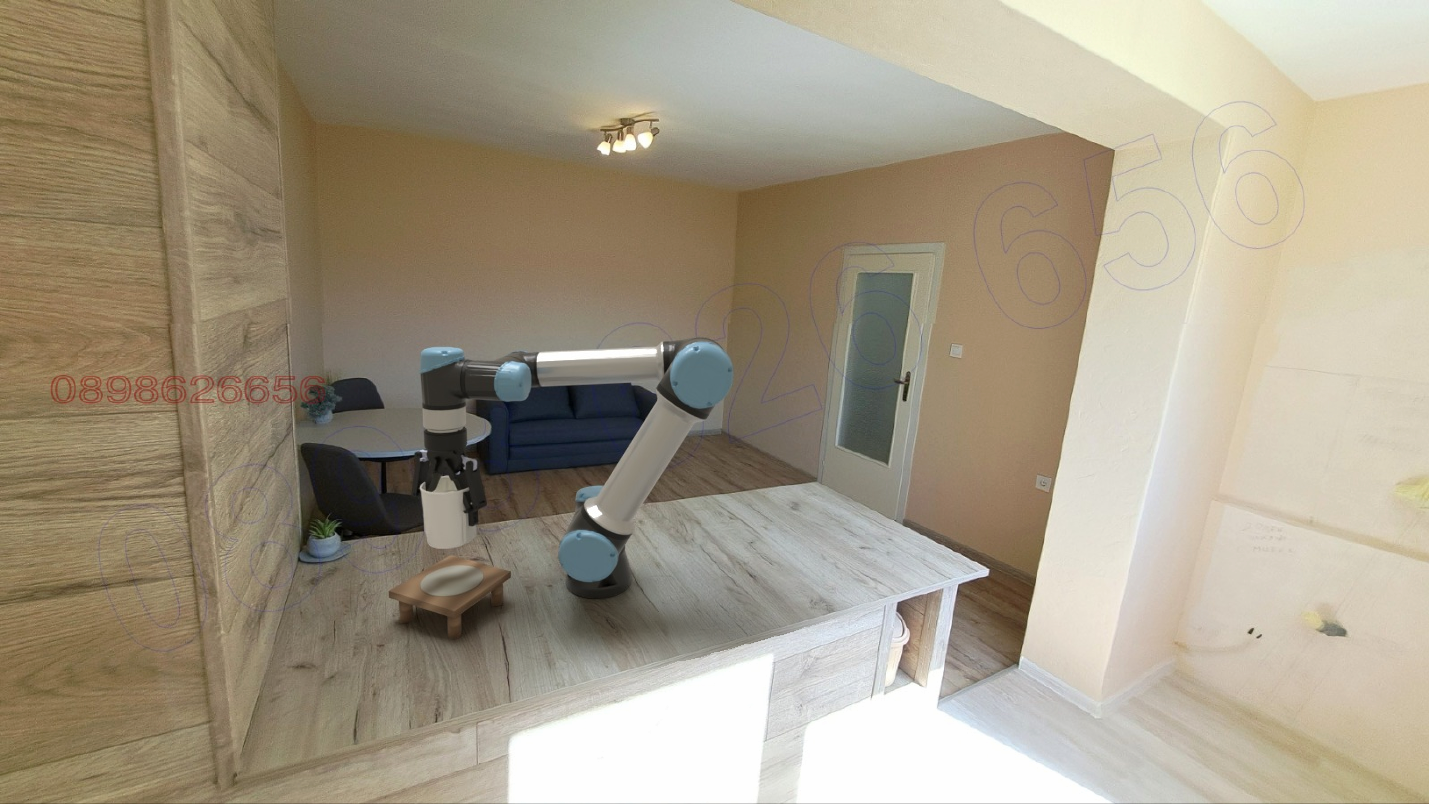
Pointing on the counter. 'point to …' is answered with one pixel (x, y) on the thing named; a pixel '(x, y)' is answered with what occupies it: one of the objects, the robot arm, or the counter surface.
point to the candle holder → (443, 514)
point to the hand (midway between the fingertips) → (450, 535)
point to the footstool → (450, 590)
